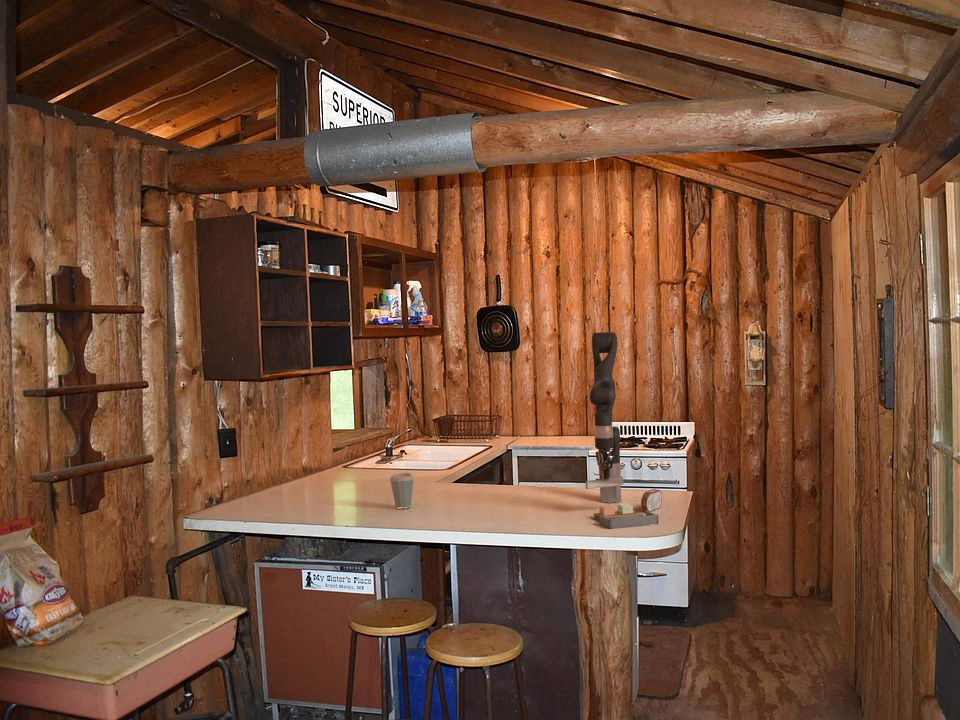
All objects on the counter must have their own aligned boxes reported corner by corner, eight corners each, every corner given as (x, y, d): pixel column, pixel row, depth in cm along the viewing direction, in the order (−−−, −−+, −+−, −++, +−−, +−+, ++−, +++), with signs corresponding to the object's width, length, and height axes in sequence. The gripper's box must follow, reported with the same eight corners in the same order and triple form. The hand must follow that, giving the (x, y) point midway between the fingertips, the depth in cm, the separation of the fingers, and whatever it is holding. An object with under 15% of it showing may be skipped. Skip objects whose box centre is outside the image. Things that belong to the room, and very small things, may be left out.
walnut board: (593, 518, 309) (593, 513, 308) (632, 514, 313) (632, 509, 313) (603, 523, 299) (603, 518, 299) (643, 519, 303) (643, 514, 303)
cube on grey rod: (585, 488, 317) (583, 464, 317) (621, 483, 321) (619, 459, 321) (588, 489, 314) (586, 465, 314) (624, 484, 318) (622, 460, 318)
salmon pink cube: (599, 513, 308) (599, 505, 308) (609, 512, 309) (609, 504, 309) (604, 515, 304) (603, 508, 304) (614, 514, 305) (614, 507, 305)
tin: (657, 506, 327) (656, 487, 327) (663, 507, 325) (663, 487, 325) (640, 513, 316) (639, 492, 316) (647, 514, 314) (646, 493, 314)
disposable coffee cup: (410, 510, 334) (409, 476, 334) (387, 510, 336) (386, 476, 336) (417, 505, 344) (416, 472, 344) (394, 505, 347) (393, 472, 346)
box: (599, 523, 298) (599, 515, 298) (647, 519, 304) (647, 510, 304) (609, 529, 290) (609, 519, 290) (658, 524, 295) (658, 515, 295)
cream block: (617, 511, 310) (617, 504, 310) (628, 510, 311) (627, 503, 311) (622, 513, 306) (622, 506, 306) (633, 512, 307) (632, 505, 307)
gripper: (588, 434, 323) (590, 475, 323) (602, 438, 309) (603, 481, 310) (605, 433, 325) (606, 474, 325) (619, 437, 311) (620, 479, 312)
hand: (605, 477), depth 317 cm, fingers closed on cube on grey rod, 3 cm apart
